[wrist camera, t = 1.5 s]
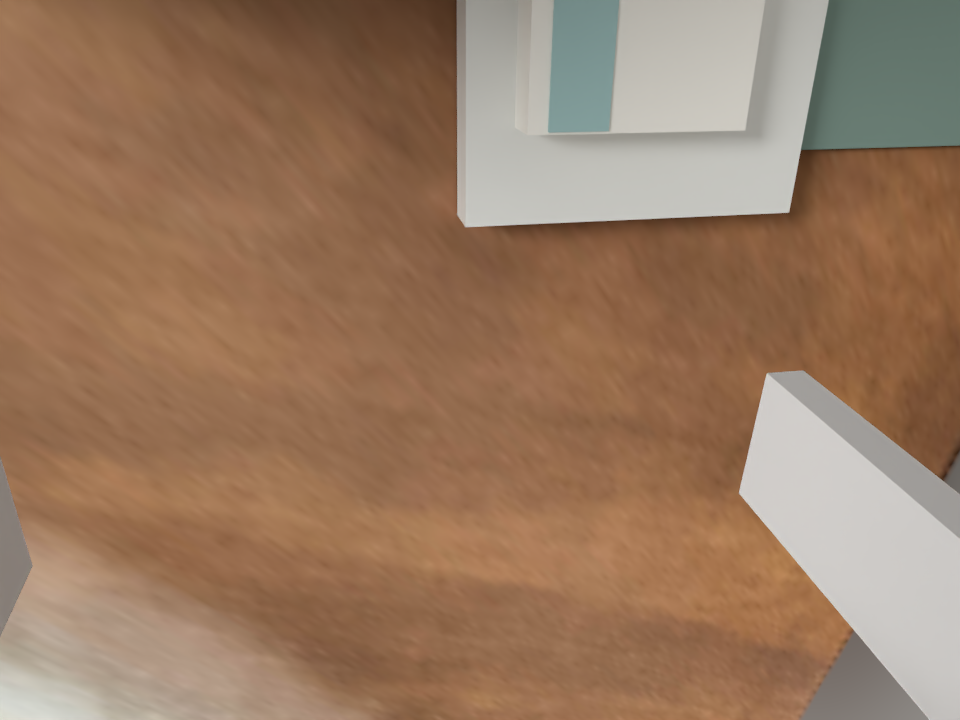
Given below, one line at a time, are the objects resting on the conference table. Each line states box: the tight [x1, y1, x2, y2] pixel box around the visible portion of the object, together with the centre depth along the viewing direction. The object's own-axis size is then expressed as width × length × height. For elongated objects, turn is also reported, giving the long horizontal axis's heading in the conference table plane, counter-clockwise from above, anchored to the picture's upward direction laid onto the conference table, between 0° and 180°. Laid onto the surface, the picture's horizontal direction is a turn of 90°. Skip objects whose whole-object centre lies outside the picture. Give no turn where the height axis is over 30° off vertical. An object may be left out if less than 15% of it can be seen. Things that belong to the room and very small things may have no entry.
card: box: [515, 0, 765, 135], centre depth 29 cm, size 6×9×2 cm, turn 90°
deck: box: [457, 0, 829, 227], centre depth 31 cm, size 14×15×2 cm
